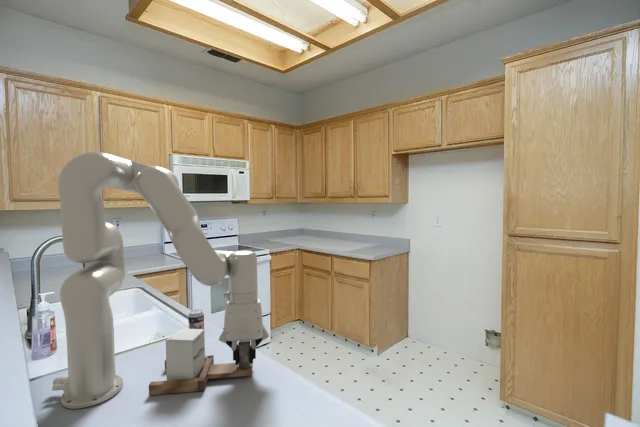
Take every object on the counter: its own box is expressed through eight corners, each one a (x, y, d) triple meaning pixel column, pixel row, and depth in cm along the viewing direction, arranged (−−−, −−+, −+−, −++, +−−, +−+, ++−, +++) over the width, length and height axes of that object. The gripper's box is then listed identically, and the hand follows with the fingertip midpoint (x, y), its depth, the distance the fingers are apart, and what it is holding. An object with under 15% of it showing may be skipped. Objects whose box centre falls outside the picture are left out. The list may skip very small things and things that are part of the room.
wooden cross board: (148, 395, 78) (147, 360, 78) (166, 367, 91) (165, 336, 90) (250, 386, 82) (250, 353, 81) (253, 360, 94) (253, 331, 94)
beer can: (192, 353, 100) (191, 315, 99) (186, 347, 103) (185, 311, 103) (207, 348, 103) (206, 311, 102) (201, 343, 107) (200, 307, 106)
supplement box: (193, 388, 81) (192, 340, 80) (165, 387, 82) (164, 339, 81) (206, 372, 89) (205, 328, 88) (180, 371, 89) (179, 327, 88)
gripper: (209, 302, 82) (211, 371, 83) (273, 299, 84) (274, 366, 85) (214, 293, 89) (216, 357, 90) (274, 290, 91) (274, 353, 92)
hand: (244, 361), depth 88 cm, fingers closed on wooden cross board, 3 cm apart
